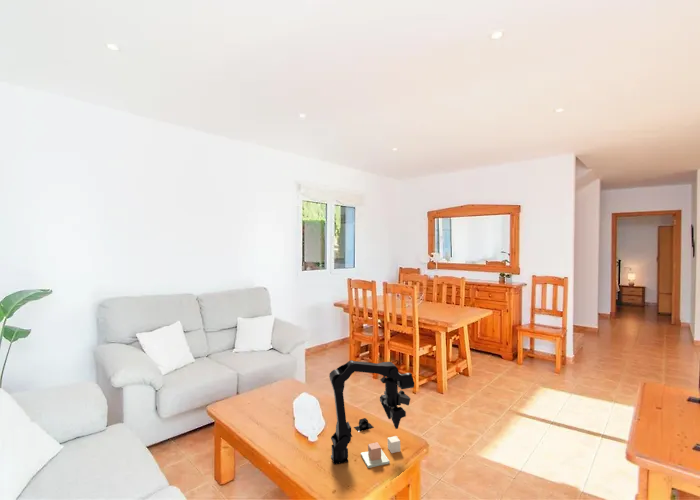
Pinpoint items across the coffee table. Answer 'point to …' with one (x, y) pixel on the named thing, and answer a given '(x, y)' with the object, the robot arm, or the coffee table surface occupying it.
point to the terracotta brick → (374, 451)
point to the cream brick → (394, 444)
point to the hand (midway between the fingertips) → (393, 423)
